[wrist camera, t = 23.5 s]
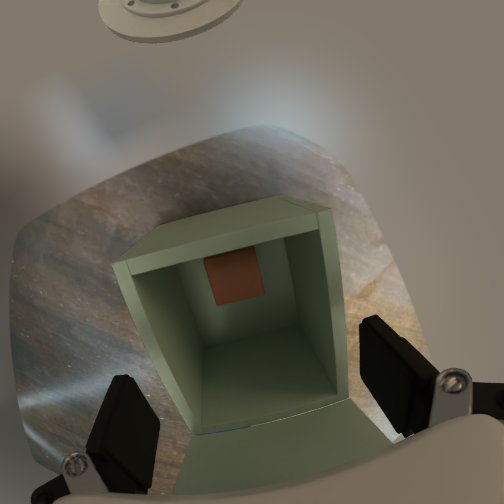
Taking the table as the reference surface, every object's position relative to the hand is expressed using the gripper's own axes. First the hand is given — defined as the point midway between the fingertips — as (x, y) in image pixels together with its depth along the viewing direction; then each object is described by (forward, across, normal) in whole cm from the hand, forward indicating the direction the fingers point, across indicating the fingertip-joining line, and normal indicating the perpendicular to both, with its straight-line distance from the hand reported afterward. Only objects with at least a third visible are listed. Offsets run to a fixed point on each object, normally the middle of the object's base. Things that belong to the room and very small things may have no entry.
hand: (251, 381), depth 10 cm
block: (+16, 0, 0) cm, 16 cm away
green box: (+17, 0, +2) cm, 17 cm away
